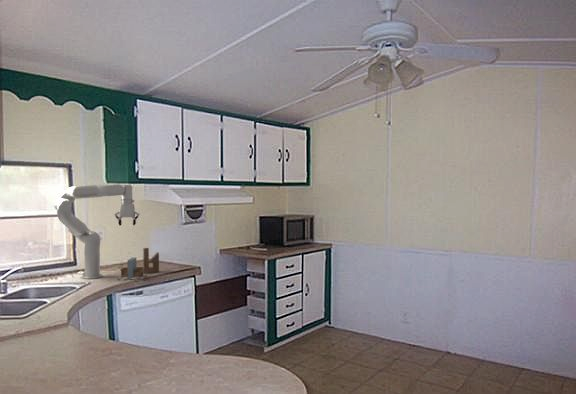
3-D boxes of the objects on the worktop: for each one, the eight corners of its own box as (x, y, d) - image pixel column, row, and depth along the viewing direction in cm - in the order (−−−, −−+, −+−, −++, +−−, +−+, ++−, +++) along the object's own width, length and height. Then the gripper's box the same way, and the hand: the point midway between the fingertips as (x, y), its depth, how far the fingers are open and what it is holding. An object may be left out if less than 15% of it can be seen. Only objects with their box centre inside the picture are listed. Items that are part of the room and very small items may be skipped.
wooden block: (159, 271, 303) (158, 247, 303) (144, 273, 297) (144, 248, 296) (157, 271, 306) (157, 246, 306) (142, 272, 300) (142, 248, 299)
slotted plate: (127, 278, 278) (127, 260, 278) (132, 274, 289) (131, 257, 289) (132, 278, 278) (132, 260, 278) (136, 274, 289) (136, 257, 289)
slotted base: (117, 280, 277) (117, 269, 277) (122, 276, 288) (122, 266, 288) (142, 279, 279) (142, 268, 279) (146, 275, 290) (146, 265, 290)
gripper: (140, 201, 306) (140, 224, 306) (116, 201, 304) (116, 225, 304) (137, 201, 298) (138, 225, 299) (112, 202, 296) (113, 226, 297)
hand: (127, 225), depth 301 cm, fingers open, 9 cm apart
